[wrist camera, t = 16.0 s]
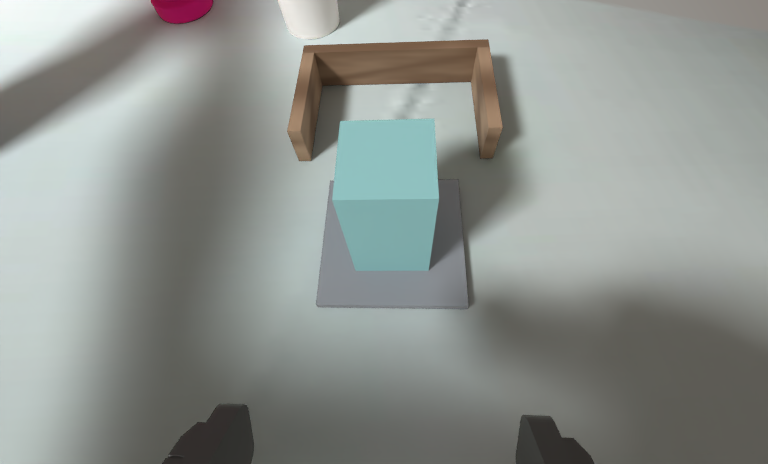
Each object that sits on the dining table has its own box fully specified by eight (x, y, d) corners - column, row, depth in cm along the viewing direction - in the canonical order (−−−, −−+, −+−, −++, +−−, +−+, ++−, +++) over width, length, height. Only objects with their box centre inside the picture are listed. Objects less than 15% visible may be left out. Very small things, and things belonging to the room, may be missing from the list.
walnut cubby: (492, 158, 30) (502, 127, 27) (299, 160, 31) (287, 131, 28) (480, 74, 34) (488, 39, 31) (313, 78, 35) (304, 45, 32)
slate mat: (467, 308, 24) (468, 306, 24) (317, 307, 25) (315, 304, 24) (457, 184, 29) (458, 179, 28) (331, 185, 29) (330, 180, 29)
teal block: (428, 270, 25) (439, 198, 17) (355, 270, 25) (332, 200, 17) (426, 207, 27) (434, 118, 19) (359, 208, 27) (340, 121, 19)
